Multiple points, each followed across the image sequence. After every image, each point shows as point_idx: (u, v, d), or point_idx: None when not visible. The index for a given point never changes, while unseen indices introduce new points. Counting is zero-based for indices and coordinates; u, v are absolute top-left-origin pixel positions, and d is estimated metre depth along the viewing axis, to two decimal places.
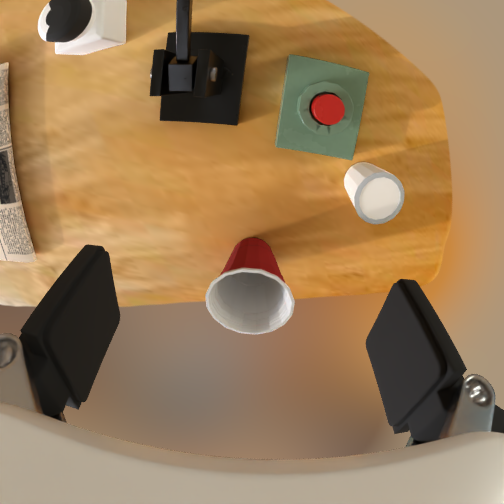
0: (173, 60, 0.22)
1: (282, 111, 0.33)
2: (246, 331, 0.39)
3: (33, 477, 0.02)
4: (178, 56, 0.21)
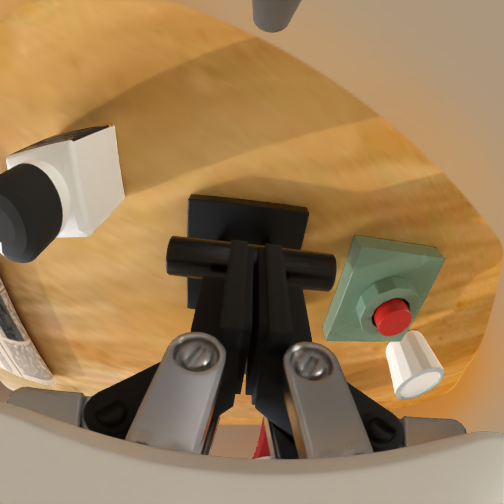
0: None
1: (339, 310, 0.29)
2: None
3: (33, 477, 0.02)
4: None
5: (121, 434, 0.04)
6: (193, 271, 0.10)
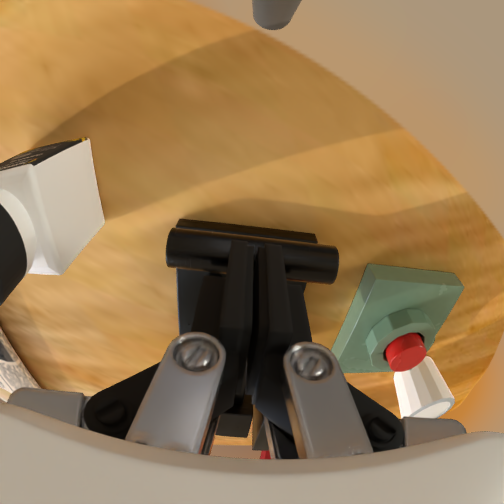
0: None
1: (347, 344, 0.25)
2: None
3: (33, 477, 0.02)
4: None
5: (121, 434, 0.04)
6: (193, 256, 0.10)
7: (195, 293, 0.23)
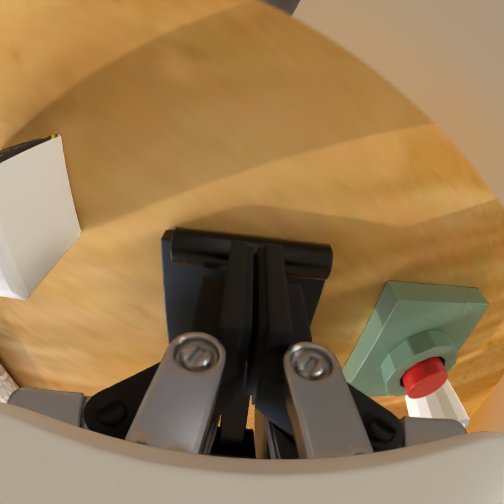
0: None
1: (360, 369, 0.21)
2: None
3: (33, 477, 0.02)
4: (224, 437, 0.11)
5: (121, 434, 0.04)
6: (197, 245, 0.11)
7: (186, 316, 0.20)
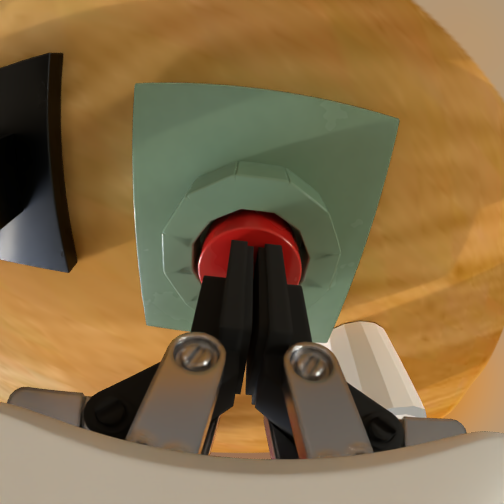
0: None
1: (140, 254, 0.13)
2: None
3: (33, 477, 0.02)
4: None
5: (121, 434, 0.04)
6: None
7: None
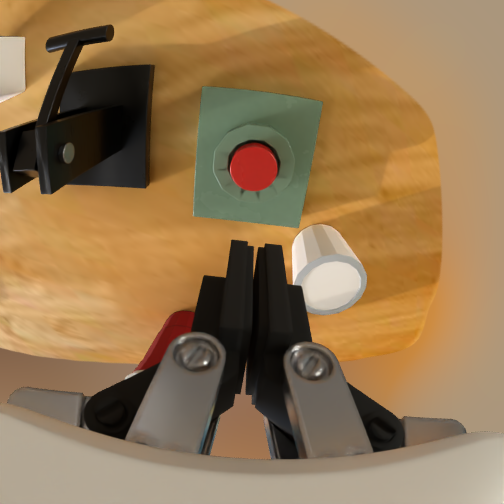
0: None
1: (196, 169, 0.25)
2: None
3: (33, 477, 0.02)
4: None
5: (121, 434, 0.04)
6: (56, 37, 0.15)
7: None
